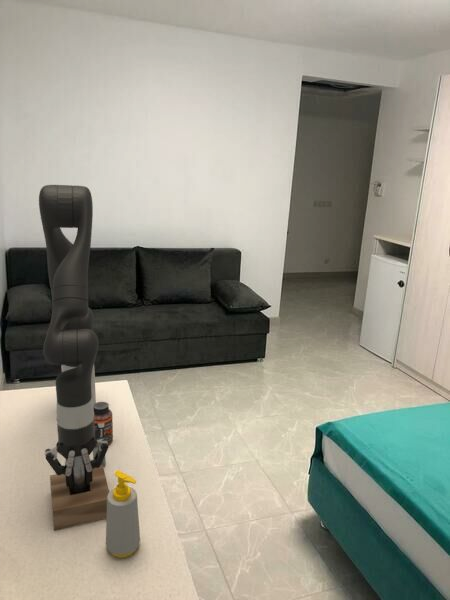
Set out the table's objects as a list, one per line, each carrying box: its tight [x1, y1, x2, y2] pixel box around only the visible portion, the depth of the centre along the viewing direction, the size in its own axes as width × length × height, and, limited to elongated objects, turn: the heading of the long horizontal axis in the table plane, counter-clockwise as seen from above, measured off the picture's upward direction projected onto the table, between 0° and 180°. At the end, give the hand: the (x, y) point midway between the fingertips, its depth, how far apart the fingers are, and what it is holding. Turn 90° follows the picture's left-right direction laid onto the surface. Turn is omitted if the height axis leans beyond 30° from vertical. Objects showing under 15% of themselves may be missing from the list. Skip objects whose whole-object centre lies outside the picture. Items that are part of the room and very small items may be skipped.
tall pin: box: [72, 455, 87, 495], centre depth 108 cm, size 3×3×11 cm
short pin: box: [92, 446, 107, 468], centre depth 123 cm, size 3×3×5 cm
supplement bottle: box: [93, 401, 114, 446], centre depth 132 cm, size 6×6×11 cm
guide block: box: [49, 465, 110, 531], centre depth 110 cm, size 12×12×5 cm
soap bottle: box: [105, 469, 141, 559], centre depth 97 cm, size 7×7×18 cm
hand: (79, 484), depth 109 cm, fingers closed on tall pin, 3 cm apart
